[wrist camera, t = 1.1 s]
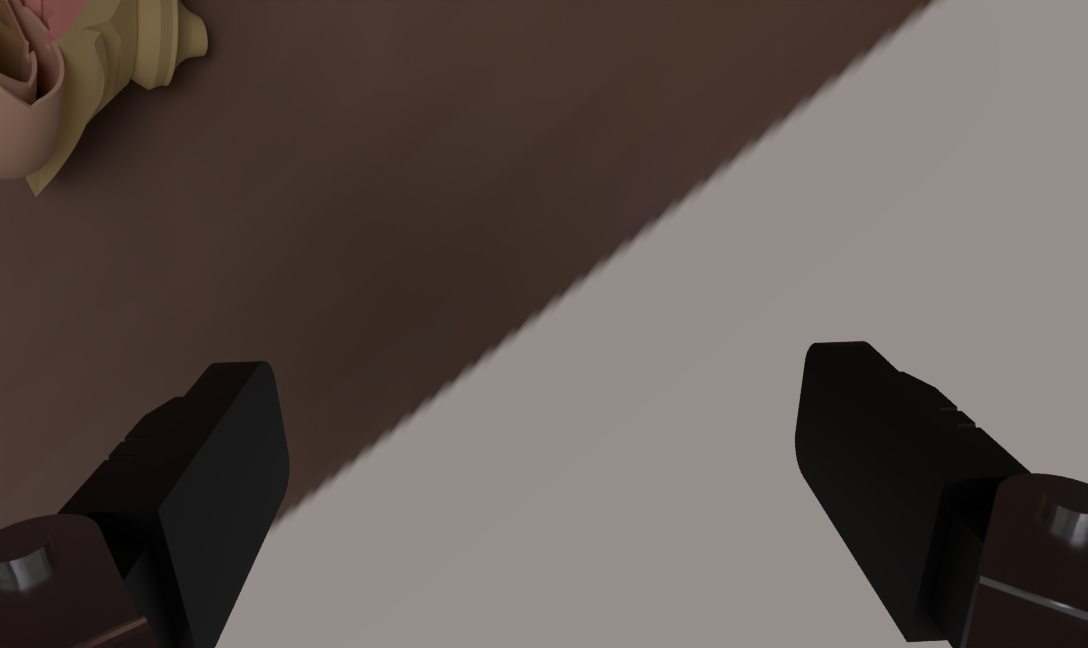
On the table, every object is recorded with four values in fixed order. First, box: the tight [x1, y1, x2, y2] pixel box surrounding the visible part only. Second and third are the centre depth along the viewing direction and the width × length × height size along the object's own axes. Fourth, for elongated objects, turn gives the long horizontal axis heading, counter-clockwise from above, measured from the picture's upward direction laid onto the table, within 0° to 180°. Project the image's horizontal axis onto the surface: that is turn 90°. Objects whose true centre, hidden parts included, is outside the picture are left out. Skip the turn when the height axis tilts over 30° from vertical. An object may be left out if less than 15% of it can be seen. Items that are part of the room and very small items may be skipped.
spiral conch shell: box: [0, 0, 208, 197], centre depth 24 cm, size 9×10×10 cm
